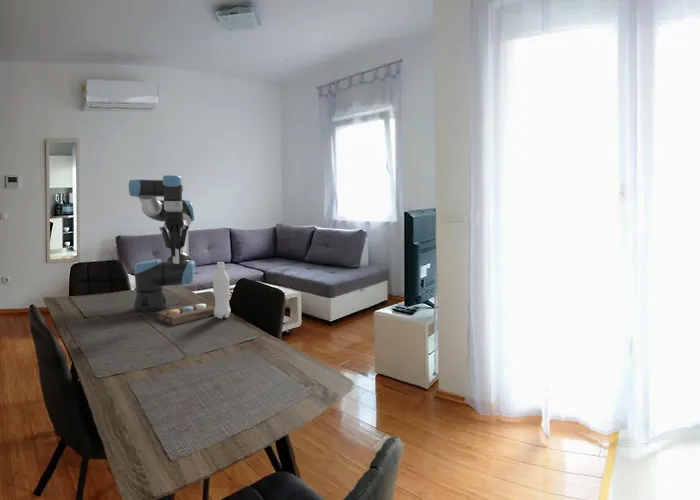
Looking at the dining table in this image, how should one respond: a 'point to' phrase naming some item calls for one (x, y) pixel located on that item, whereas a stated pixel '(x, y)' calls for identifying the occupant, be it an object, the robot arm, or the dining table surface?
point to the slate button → (187, 309)
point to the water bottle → (221, 292)
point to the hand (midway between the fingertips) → (176, 263)
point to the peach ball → (174, 312)
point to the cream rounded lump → (200, 306)
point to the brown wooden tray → (185, 314)
